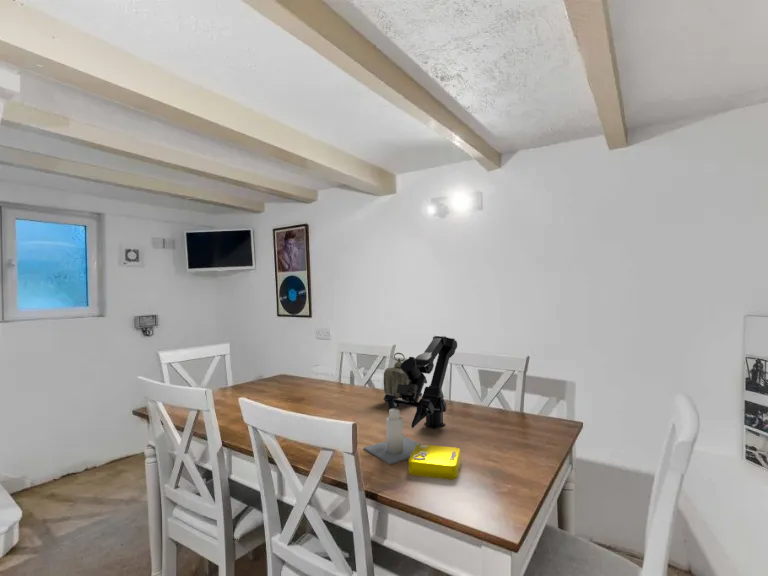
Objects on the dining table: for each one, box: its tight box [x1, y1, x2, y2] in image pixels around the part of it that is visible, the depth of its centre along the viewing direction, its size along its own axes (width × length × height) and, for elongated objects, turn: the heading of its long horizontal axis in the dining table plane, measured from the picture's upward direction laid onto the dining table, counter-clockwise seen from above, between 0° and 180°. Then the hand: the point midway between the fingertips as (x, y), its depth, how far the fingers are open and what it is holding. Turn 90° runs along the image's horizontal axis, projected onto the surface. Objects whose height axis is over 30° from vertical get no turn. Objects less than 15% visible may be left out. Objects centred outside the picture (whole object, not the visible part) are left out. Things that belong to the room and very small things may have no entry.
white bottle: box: [385, 408, 404, 454], centre depth 140 cm, size 6×6×14 cm
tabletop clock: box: [383, 352, 409, 399], centre depth 199 cm, size 14×9×25 cm, turn 46°
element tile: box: [407, 443, 462, 480], centre depth 128 cm, size 15×15×5 cm
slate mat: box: [363, 435, 420, 466], centre depth 141 cm, size 18×16×1 cm
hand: (400, 424), depth 143 cm, fingers open, 9 cm apart
